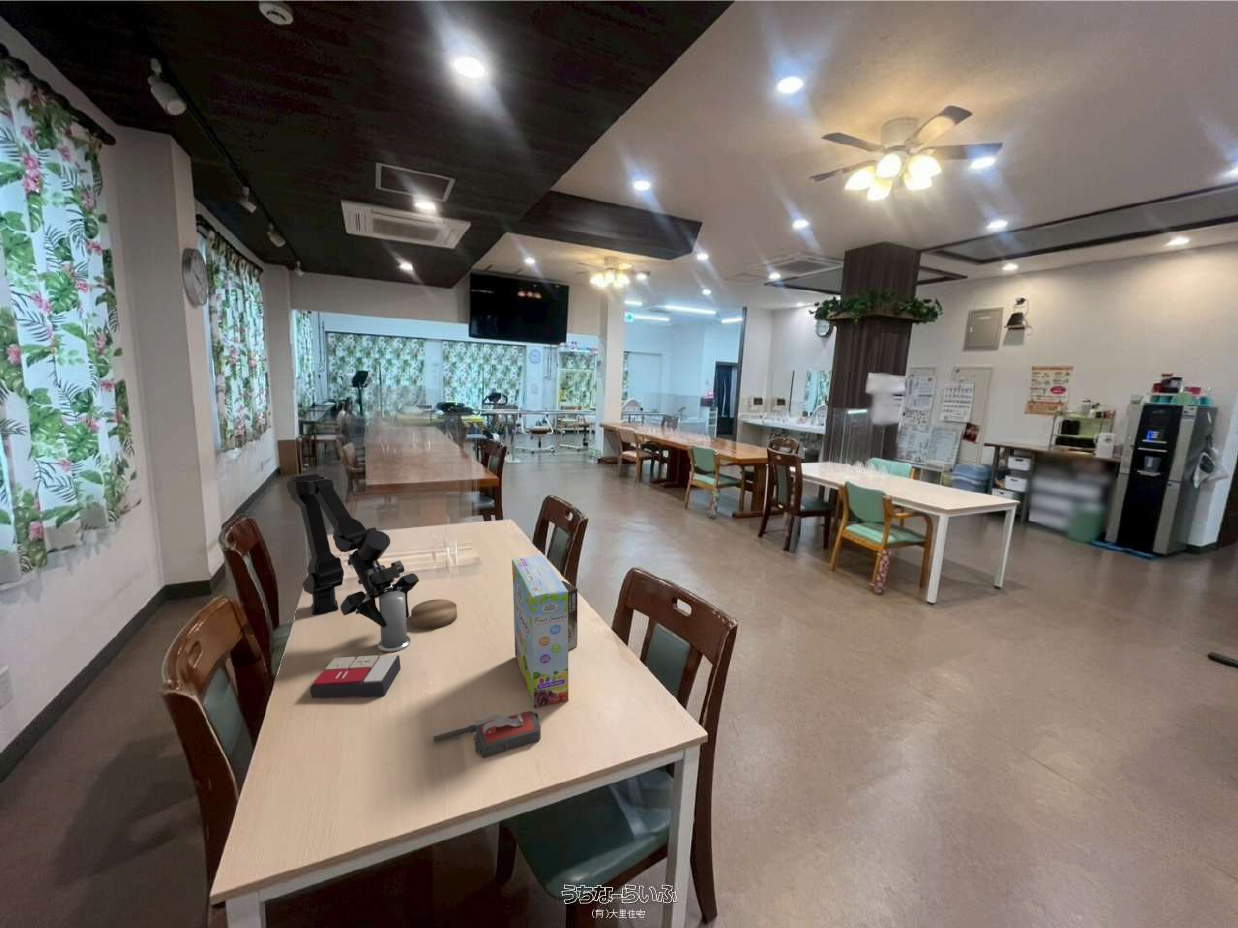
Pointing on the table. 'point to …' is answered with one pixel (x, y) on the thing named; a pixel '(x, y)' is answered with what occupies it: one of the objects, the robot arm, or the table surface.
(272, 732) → the table surface
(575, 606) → the coffee box
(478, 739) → the walkie-talkie
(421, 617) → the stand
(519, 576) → the snack box
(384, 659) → the calculator
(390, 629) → the grey cylinder
